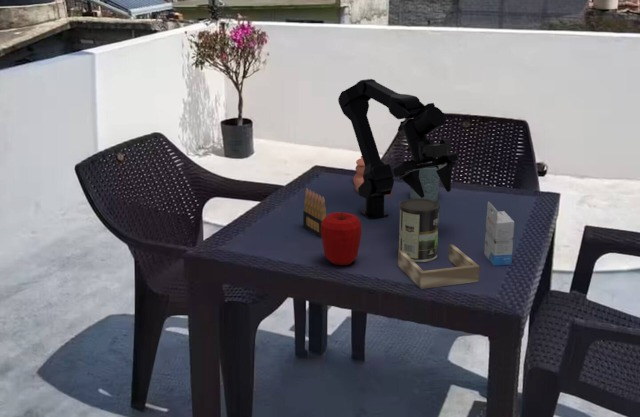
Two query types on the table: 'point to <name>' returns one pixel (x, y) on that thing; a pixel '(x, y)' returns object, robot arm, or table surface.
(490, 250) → the ink box
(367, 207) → the robot arm
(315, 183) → the table surface
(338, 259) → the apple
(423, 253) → the coffee can
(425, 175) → the green cup
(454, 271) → the corral
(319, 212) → the ammunition clip
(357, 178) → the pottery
